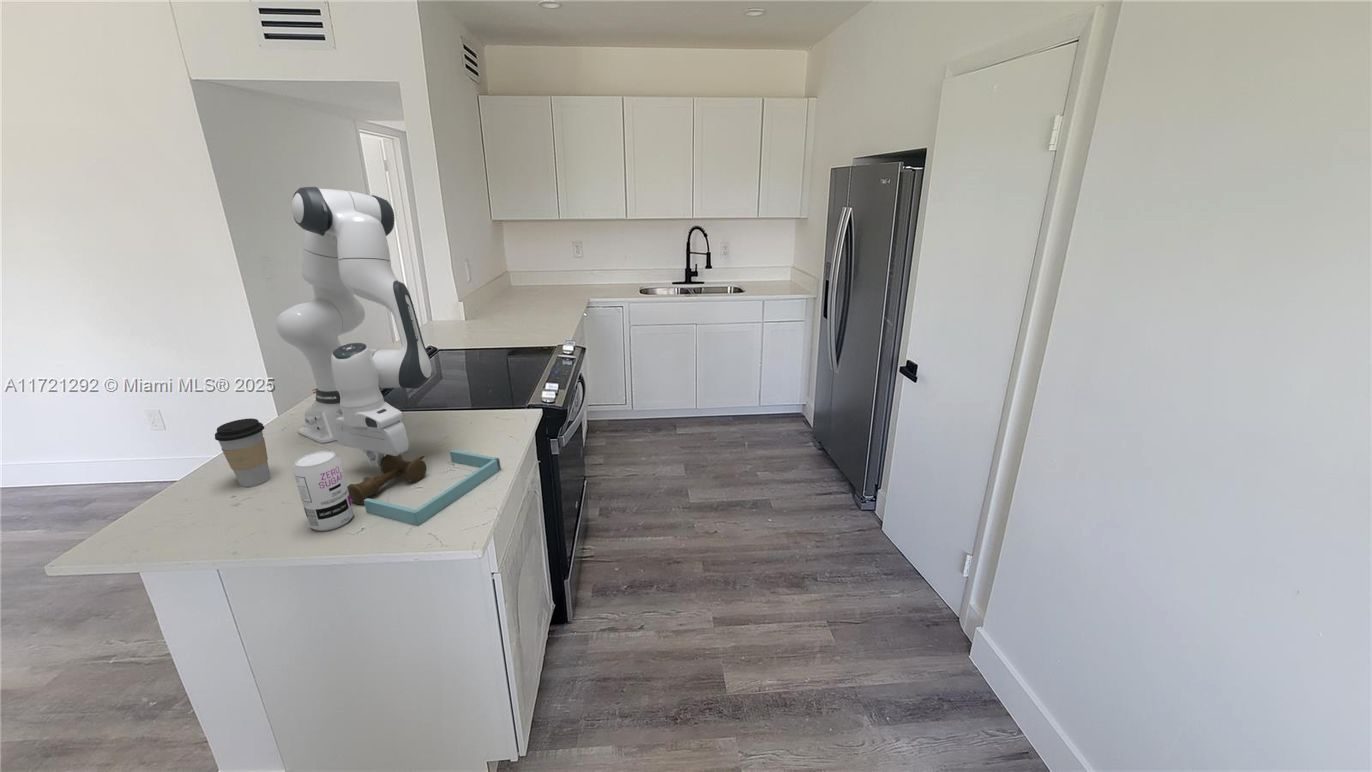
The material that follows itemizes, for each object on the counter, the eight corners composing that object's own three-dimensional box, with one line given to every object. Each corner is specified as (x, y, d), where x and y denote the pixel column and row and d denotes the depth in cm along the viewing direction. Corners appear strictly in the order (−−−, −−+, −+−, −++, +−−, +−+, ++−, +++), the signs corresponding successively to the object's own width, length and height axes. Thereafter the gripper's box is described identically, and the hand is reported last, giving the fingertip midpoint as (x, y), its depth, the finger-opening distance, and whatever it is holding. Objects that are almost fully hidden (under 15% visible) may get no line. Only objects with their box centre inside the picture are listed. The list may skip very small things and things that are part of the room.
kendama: (341, 502, 126) (413, 462, 143) (370, 512, 122) (441, 469, 139) (334, 479, 124) (409, 441, 141) (364, 489, 120) (437, 448, 137)
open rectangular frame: (366, 512, 121) (363, 500, 120) (454, 460, 143) (452, 449, 142) (418, 525, 115) (415, 513, 114) (500, 469, 138) (499, 458, 137)
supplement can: (322, 512, 121) (305, 450, 116) (361, 509, 122) (346, 448, 117) (301, 534, 114) (281, 469, 109) (343, 531, 114) (325, 466, 109)
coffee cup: (227, 494, 130) (207, 436, 125) (236, 477, 138) (217, 422, 133) (275, 484, 134) (258, 427, 129) (281, 468, 142) (265, 414, 137)
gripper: (322, 412, 131) (336, 464, 136) (384, 423, 124) (397, 477, 128) (346, 403, 137) (359, 453, 141) (407, 413, 129) (418, 465, 134)
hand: (377, 465), depth 135 cm, fingers closed
